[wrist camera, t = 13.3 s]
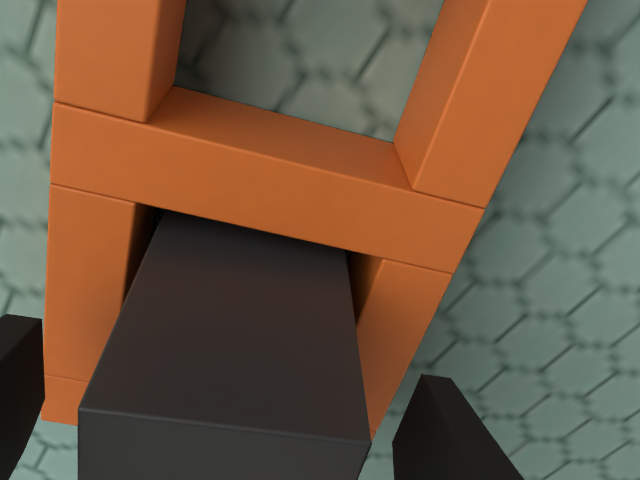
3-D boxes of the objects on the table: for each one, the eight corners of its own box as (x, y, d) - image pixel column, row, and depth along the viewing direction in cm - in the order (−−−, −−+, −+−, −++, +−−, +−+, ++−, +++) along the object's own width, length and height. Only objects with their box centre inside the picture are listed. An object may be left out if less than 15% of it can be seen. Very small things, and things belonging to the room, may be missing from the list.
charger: (340, 209, 14) (374, 450, 8) (307, 331, 16) (313, 600, 10) (176, 179, 13) (73, 414, 7) (164, 310, 15) (74, 581, 9)
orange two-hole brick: (131, -358, 8) (72, -452, 6) (600, -175, 10) (687, -198, 8) (75, 348, 16) (39, 421, 14) (350, 397, 17) (358, 470, 15)
